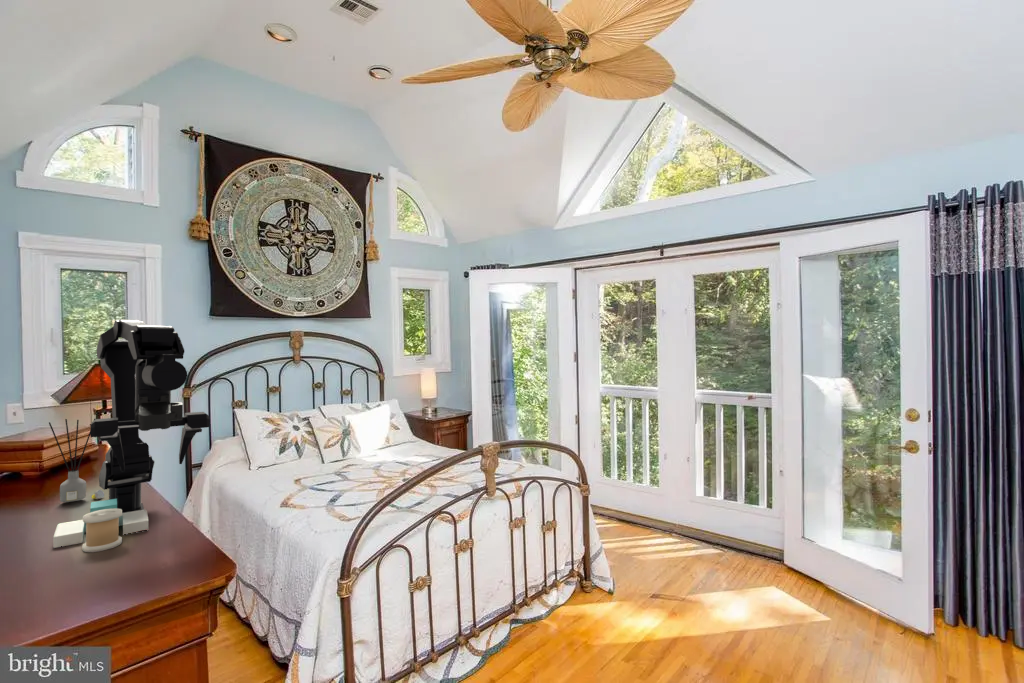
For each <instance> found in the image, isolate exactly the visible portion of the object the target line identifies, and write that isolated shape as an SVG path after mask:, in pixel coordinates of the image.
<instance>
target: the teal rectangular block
mask: <svg viewBox="0 0 1024 683" xmlns="http://www.w3.org/2000/svg"><path fill="white" fill-rule="evenodd" d="M114 508H117V499H110V500H109V499H105V500H98V501H91V503H90V508H89V509H90V510H89V513H90V512H94V511H98V510H104V509H114Z"/></svg>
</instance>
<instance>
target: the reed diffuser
mask: <svg viewBox="0 0 1024 683" xmlns="http://www.w3.org/2000/svg"><path fill="white" fill-rule="evenodd" d="M95 419H96V418H94V419H93V421H94V420H95ZM79 421H80V420H79V419H76V433H75V434H76V435H75V449H74V463H73V456H72V451H71V450H72V449H71V442H70V433H69V427H68V419H67V418H65V428H66V436H67V444H68V452H69V458H70V466H71V467H69V464H68V462H67V460H66V457H65V454H64V453H63V449H62V447H61V446H60V443H59V440H58V438H57V436H56V433H55V431H54V428H53V426H52V423H51V422H48V424H49V427H50V430H51V432H52V434H53V437H54V439H55V441H56V444H57V446H58V449H59V451H60V454H61V456H62V459H63V461H64V463H65V466H66V468H67V472H68V474H67V479H66V480H65V481H63V482H62V483H61V484H60V486H59V499H60V500H59V501H60V503H69V502H76V501H80V500H81V501H82V500H84V499H85V498H86V496H87V481H86V480H84V479H82V478H80V477H79V475H80V474H79V473H80V472H79V469H80V465H81V462H82V460H83V456H84V454H85V452H86V451H85V450H86V449H87V446H88V442H89V439H90V438H91V429H90V431H89V433H88V436H87V439H86V442H85V443H84V444H85V445H84V448H83V449H82V450H83V451H82V453H81V456H80V459H79V462H78V465H77V467H76V464H77V449H78V435H79ZM73 464H74V465H73ZM70 468H71V470H70ZM104 497H105V493H104V491H103V490H102V489H97V490H96V491H94V494H92V495H91V499H93V500H95V499H97V500H101V499H103V498H104Z"/></svg>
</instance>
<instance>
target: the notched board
mask: <svg viewBox="0 0 1024 683" xmlns="http://www.w3.org/2000/svg"><path fill="white" fill-rule="evenodd" d="M120 525H121V526H122V536H125V535H124V534H126V535H129V534H128V533H131V534H133V533H132V532H136V531H140V530H145V529H148V530H149V516H148V511H147V508H146V509H145V508H144V510H138V511H132V512H126V513H122V516H120V517H119V527H120ZM85 533H86V523H85V522H83V519H78V520H72V521H67V522H61V523H58V524H57V526H56V528H55V531H54V535H53V538H52V539H53V540H52V541H53V543H52V544H53V545H52V546H53V547H52V548H53V549H55V548H61V546H62V547H65V546H66V547H67V546H71V545H72V546H73V545H77V544H82V543H83V540H84V535H85ZM136 533H137V532H136Z"/></svg>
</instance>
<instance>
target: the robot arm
mask: <svg viewBox="0 0 1024 683" xmlns="http://www.w3.org/2000/svg"><path fill="white" fill-rule="evenodd" d="M184 355H185V348H184V346H183V342H182V340H181V337H180V336H179V334H178V332H177V331H175V327H173V326H171V325H149V324H148V323H145V322H144V321H141V320H140V319H118V320H114V322H113V326H112V327H110V328H109V329H107V330H106V331H105V332H103V333H101V334H100V336H99V339H98V343H97V346H96V358H97V359H98V360H99V361H100V368H101V369H102V370H103V372H104V373H105V374H106V375H107V376H108V377H109V378H110V390H111V391H110V393H111V412H112V414H111V415H112V417H108V418H94V419H95V420H94V419H93V421H91V423H90V430H91V434H90V438H99V441H100V442H107V443H108V444H109V446H110V447H109V448H108V450H107V452H106V453H105V454H104V456H105V458H104V461H103V462H102V466H101V468H100V471H99V475H98V481H99V482H98V484H99V487H100V488H102V489H103V490H104V491H105V490H108V500H110V499H117V509H122V513H126V512H132V511H138V510H144V509H145V508H144V503H143V502H142V484H143V483H151V481H152V480H153V471H154V470H153V469H154V467H155V466H154V465H155V460H154V459H153V456H152V455H151V454H150V449H149V448H150V447H149V445H148V443H147V442H144V441H143V440H142V439H141V438H140V436H139V434H140V433H139V432H140V431H144V432H147V431H151V430H159V429H161V430H168V429H170V428H171V427H173V428H174V427H182V426H183V427H182V430H181V437H180V445H179V454H178V463H179V465H182V464H183V463H184V462H183V461H184V459H185V456H186V454H187V452H188V449H189V447H190V444H191V442H192V440H193V439H194V437H195V436H196V434H198V433H202V431H203V428H204V429H205V428H210V425H211V424H210V423H211V422H210V420H211V419H210V415H209V414H207V413H206V412H205V411H197V412H196V411H195V412H194V411H193V412H183V411H184V410H183V409H184V407H183V402H182V401H173V402H172V401H171V400H172V396H171V395H172V394H171V393H172V391H175V390H177V389H180V388H181V387H182V386H184V384H185V383H186V381H187V379H188V371H187V369H186V366H184V365H183V364H182V363H181V362H179V361H177V360H183V359H184ZM183 413H184V416H183Z"/></svg>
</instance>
